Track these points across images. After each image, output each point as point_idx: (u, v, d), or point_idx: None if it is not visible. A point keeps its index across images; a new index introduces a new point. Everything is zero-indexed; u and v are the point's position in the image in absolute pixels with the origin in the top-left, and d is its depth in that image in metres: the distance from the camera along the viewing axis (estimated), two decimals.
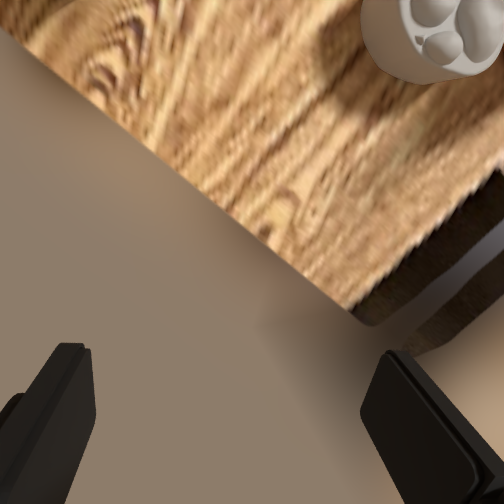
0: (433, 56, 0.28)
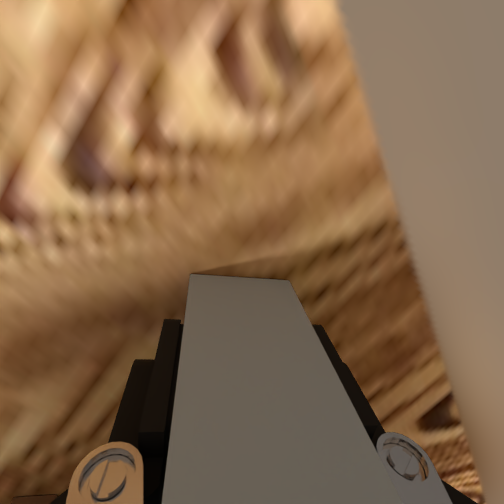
0: None
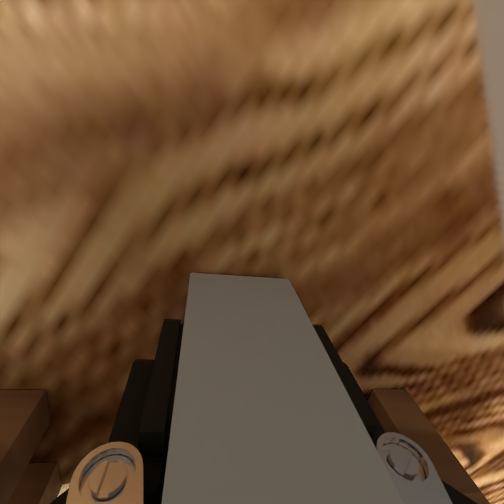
0: None
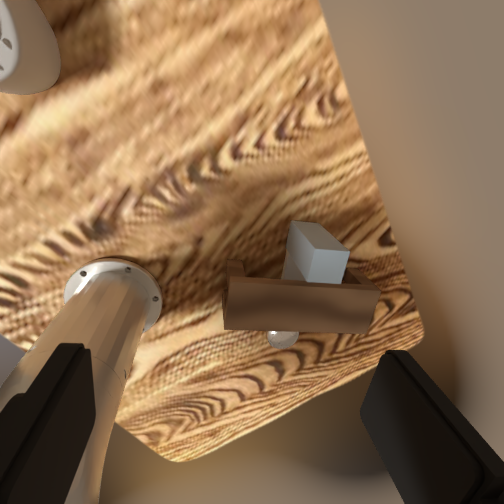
0: None
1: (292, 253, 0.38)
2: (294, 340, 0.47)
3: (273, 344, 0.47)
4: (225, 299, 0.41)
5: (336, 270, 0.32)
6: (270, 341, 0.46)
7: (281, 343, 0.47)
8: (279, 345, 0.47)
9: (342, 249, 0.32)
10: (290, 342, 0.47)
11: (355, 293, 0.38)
